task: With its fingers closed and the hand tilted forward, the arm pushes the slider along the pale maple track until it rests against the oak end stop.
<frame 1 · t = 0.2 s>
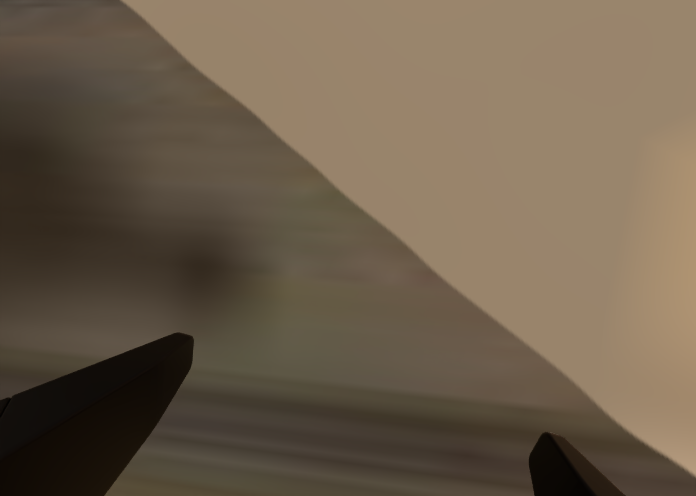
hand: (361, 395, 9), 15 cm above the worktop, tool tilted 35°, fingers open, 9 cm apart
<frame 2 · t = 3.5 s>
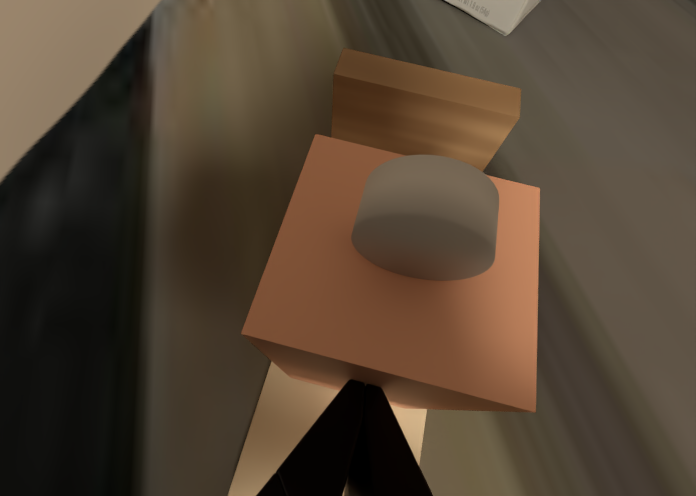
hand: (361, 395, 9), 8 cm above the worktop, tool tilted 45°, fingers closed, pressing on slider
track: (359, 332, 17), on the worktop
slider: (378, 305, 10), point 7 cm above the worktop, slide at 0.6 cm, touching gripper
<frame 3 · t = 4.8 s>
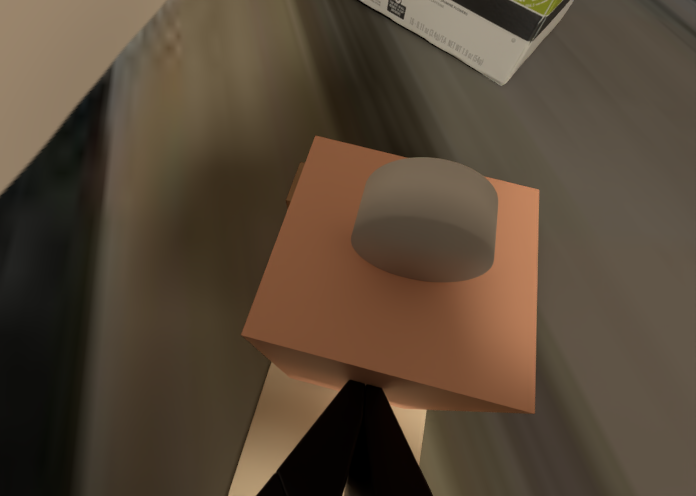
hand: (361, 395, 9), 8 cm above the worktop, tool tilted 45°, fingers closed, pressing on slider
track: (328, 461, 15), on the worktop
tea box: (451, 16, 29), on the worktop
slider: (378, 306, 10), point 7 cm above the worktop, slide at 6.3 cm, touching gripper
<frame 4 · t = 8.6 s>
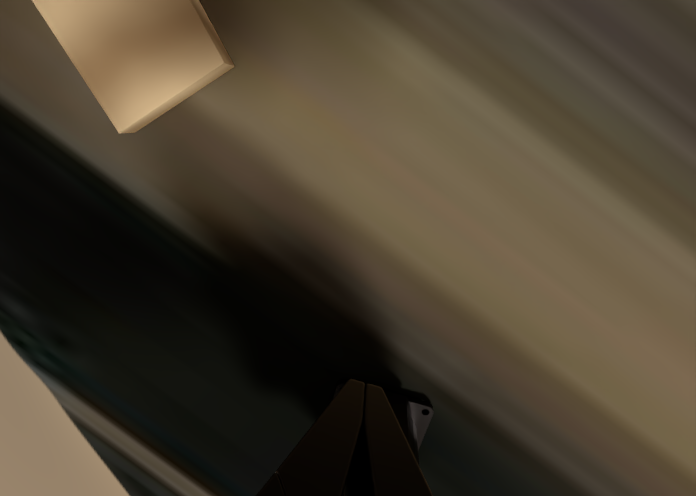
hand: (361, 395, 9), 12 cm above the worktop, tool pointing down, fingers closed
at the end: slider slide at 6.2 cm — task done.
